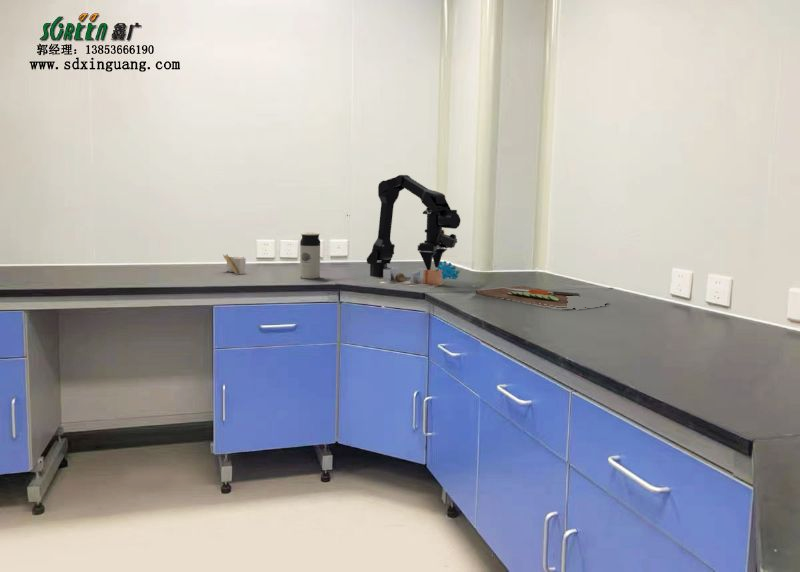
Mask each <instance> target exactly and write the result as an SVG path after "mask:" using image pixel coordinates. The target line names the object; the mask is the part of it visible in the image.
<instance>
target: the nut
mask: <svg viewBox="0 0 800 572" xmlns="http://www.w3.org/2000/svg"><path fill="white" fill-rule="evenodd" d="M405 277H406V275H405V274H404V273H403V272H399V273H398V274H397V275H396V277H395V278H396V281H398V282H403V281H404V279H406V278H405Z"/></svg>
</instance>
